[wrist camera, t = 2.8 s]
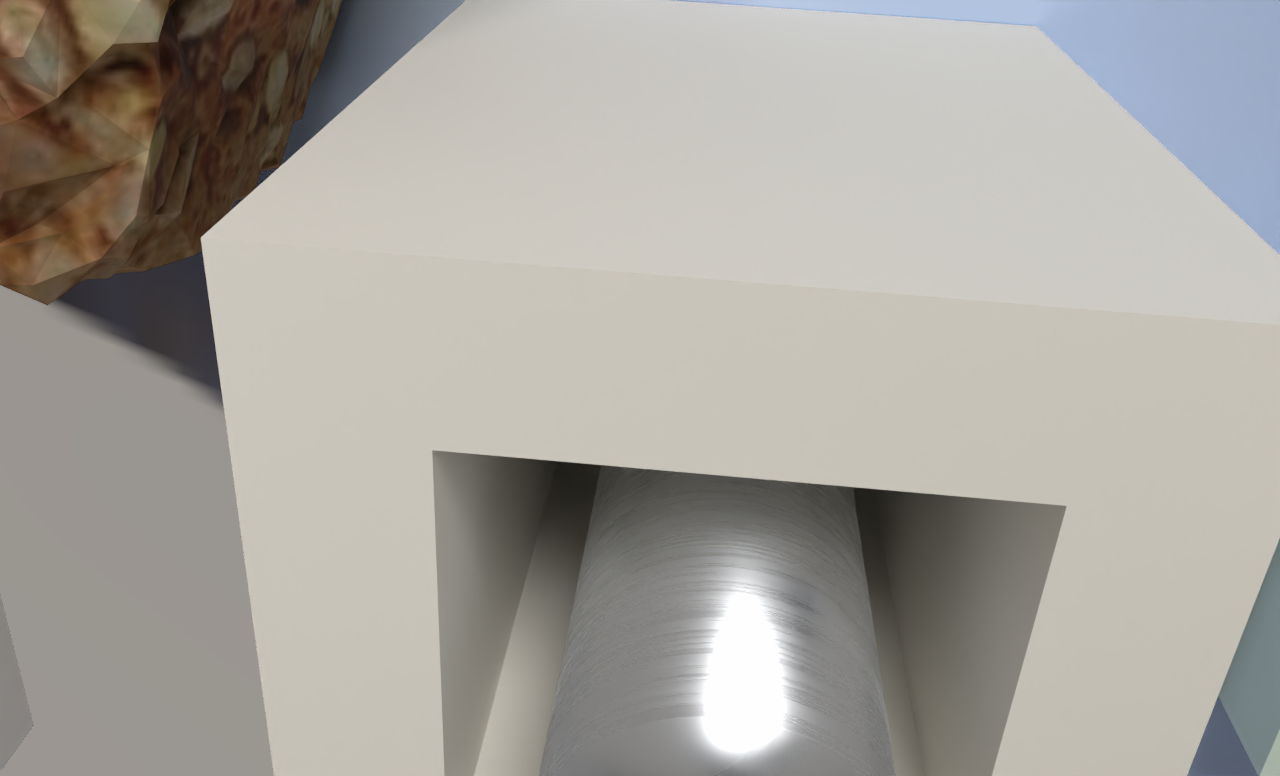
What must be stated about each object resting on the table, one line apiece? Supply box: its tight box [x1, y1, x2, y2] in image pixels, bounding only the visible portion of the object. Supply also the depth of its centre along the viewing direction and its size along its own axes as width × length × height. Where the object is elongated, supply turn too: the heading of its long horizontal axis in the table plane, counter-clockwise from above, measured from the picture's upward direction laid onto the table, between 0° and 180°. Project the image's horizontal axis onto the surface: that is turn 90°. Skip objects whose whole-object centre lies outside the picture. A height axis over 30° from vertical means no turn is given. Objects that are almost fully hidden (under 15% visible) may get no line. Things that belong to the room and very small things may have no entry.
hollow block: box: [201, 0, 1280, 776], centre depth 14 cm, size 8×8×10 cm
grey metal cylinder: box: [539, 465, 896, 776], centre depth 14 cm, size 4×4×12 cm
